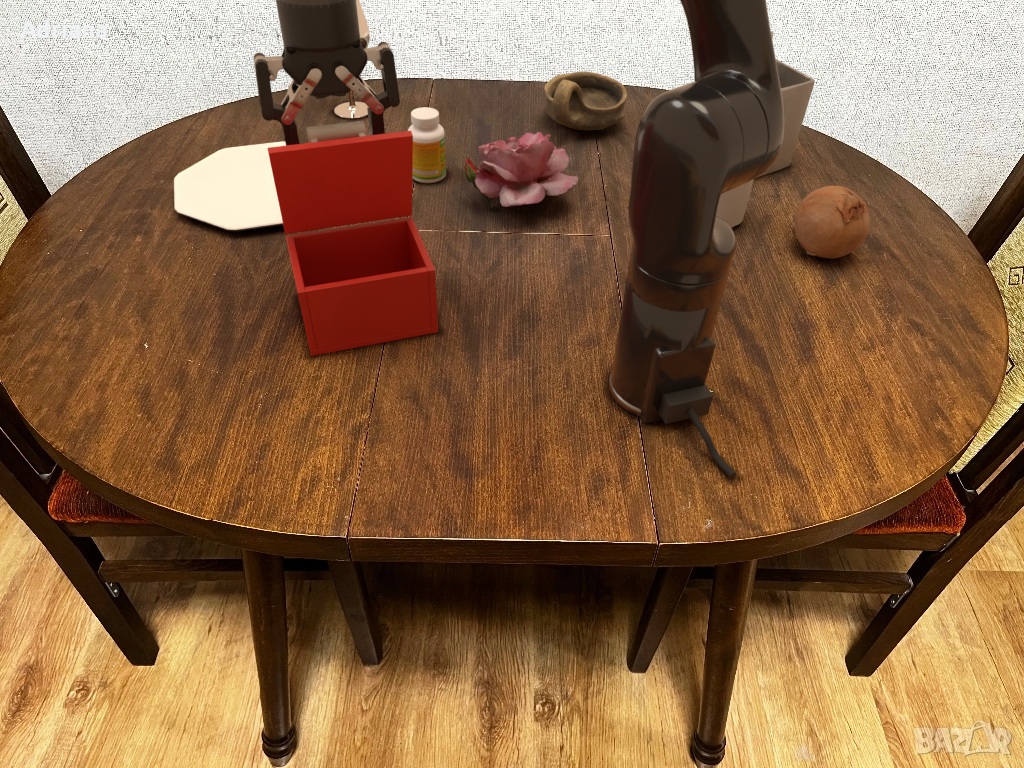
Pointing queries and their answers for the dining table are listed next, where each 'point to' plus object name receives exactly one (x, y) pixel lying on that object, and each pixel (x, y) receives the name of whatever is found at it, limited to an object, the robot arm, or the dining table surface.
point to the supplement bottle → (428, 146)
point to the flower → (520, 170)
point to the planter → (791, 110)
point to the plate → (230, 189)
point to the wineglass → (351, 108)
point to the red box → (363, 284)
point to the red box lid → (343, 177)
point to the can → (734, 204)
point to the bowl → (585, 100)
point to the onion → (831, 222)
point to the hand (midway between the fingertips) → (337, 148)
